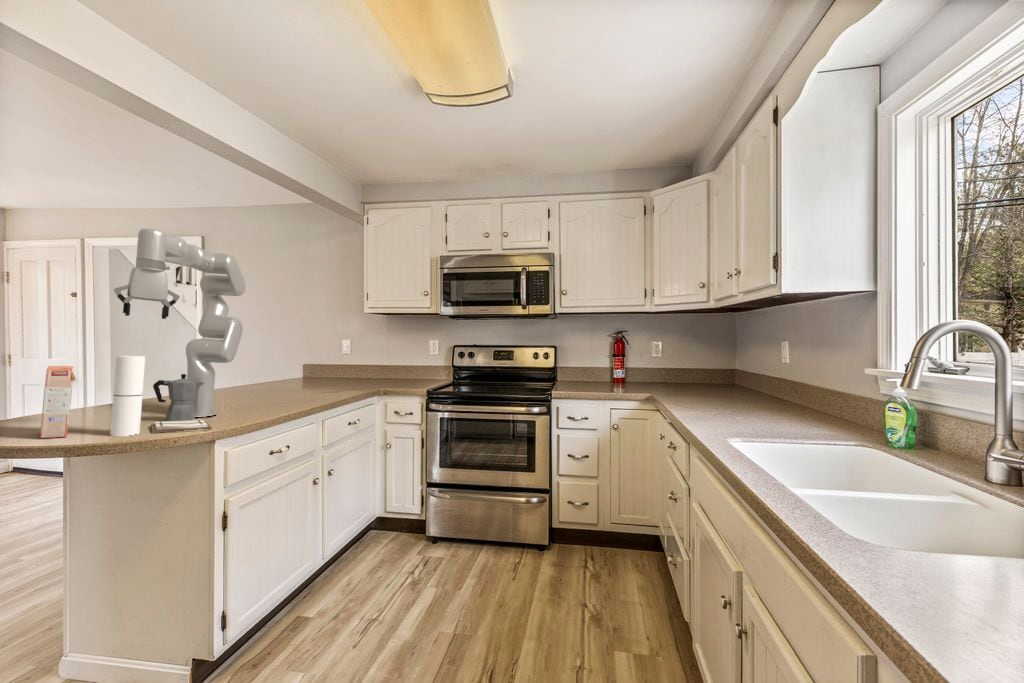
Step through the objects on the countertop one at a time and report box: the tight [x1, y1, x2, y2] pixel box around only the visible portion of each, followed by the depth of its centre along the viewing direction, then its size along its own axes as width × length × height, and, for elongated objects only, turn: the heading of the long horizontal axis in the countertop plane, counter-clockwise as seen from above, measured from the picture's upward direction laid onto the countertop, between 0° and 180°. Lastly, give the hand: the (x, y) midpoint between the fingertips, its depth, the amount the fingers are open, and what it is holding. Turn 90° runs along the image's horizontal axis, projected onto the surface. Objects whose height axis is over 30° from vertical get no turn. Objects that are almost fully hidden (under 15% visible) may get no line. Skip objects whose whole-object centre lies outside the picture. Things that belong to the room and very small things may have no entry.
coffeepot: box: [152, 373, 204, 421], centre depth 169 cm, size 15×9×18 cm, turn 129°
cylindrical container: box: [109, 355, 146, 437], centre depth 143 cm, size 7×7×25 cm
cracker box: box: [39, 365, 74, 439], centre depth 138 cm, size 14×6×21 cm, turn 44°
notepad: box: [150, 419, 212, 434], centre depth 157 cm, size 14×16×2 cm
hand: (145, 317), depth 149 cm, fingers open, 9 cm apart
